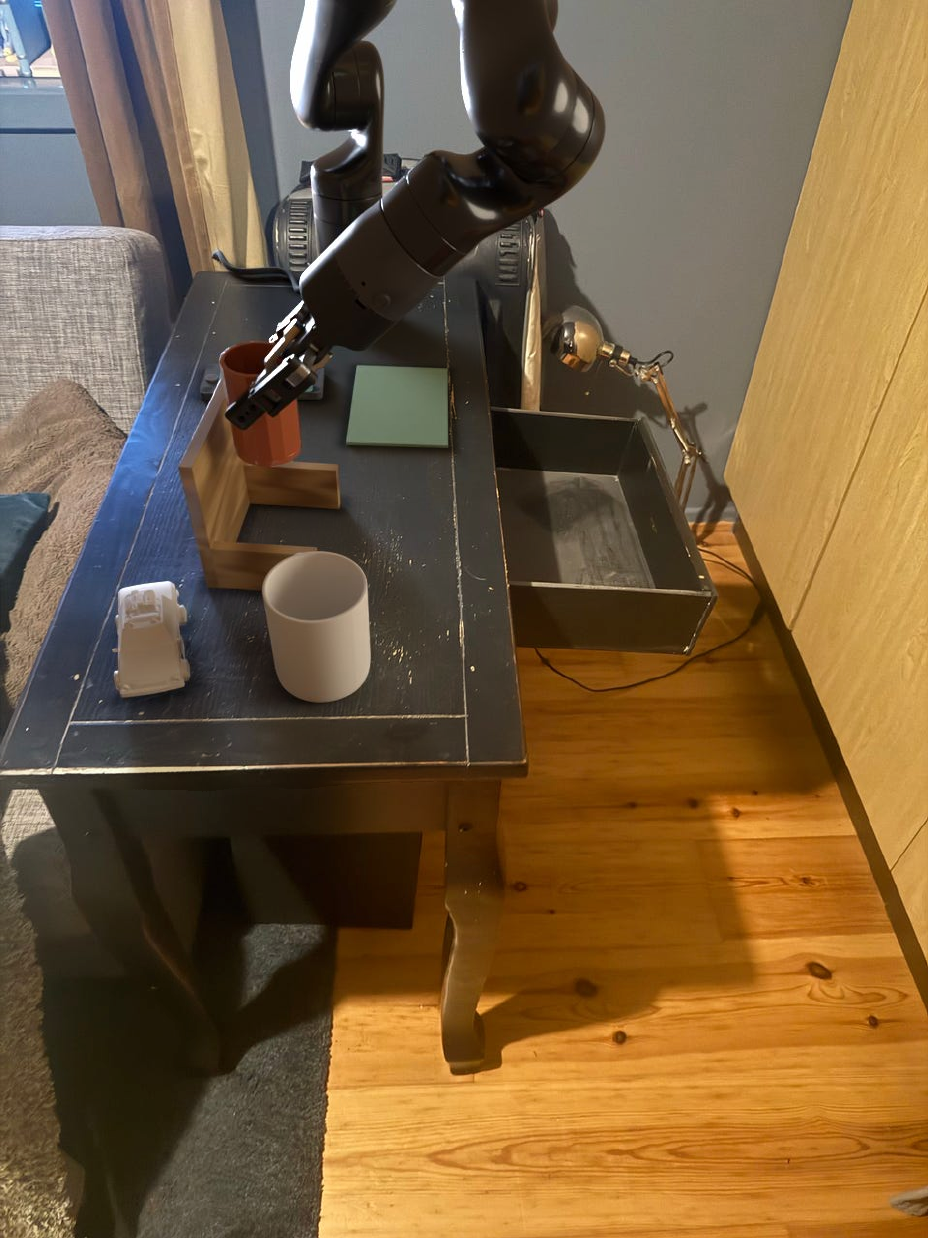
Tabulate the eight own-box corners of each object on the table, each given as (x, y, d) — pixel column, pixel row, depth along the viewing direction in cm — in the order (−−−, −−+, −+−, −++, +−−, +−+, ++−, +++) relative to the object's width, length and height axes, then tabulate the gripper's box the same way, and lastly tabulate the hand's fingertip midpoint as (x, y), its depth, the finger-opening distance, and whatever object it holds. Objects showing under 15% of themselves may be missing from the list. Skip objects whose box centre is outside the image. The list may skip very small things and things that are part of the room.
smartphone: (206, 362, 106) (323, 362, 107) (208, 371, 107) (324, 371, 108) (198, 392, 101) (321, 392, 102) (200, 401, 101) (322, 400, 103)
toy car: (120, 714, 68) (98, 660, 63) (120, 613, 76) (101, 559, 71) (194, 700, 69) (178, 647, 64) (187, 603, 77) (172, 549, 72)
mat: (357, 367, 109) (357, 364, 109) (447, 371, 110) (447, 368, 109) (346, 444, 97) (346, 441, 96) (447, 448, 97) (448, 445, 97)
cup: (227, 438, 76) (210, 348, 70) (289, 423, 79) (278, 335, 72) (247, 473, 73) (231, 382, 66) (311, 457, 75) (302, 367, 69)
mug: (260, 618, 76) (244, 533, 69) (346, 600, 79) (340, 515, 71) (287, 716, 69) (273, 632, 61) (382, 692, 71) (379, 609, 63)
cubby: (340, 502, 89) (332, 386, 79) (319, 594, 79) (306, 475, 69) (241, 495, 89) (220, 379, 79) (207, 587, 79) (178, 466, 69)
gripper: (349, 204, 67) (227, 331, 75) (321, 280, 57) (184, 417, 65) (414, 273, 71) (291, 387, 79) (398, 356, 61) (259, 476, 69)
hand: (243, 400), depth 72 cm, fingers closed on cup, 6 cm apart
